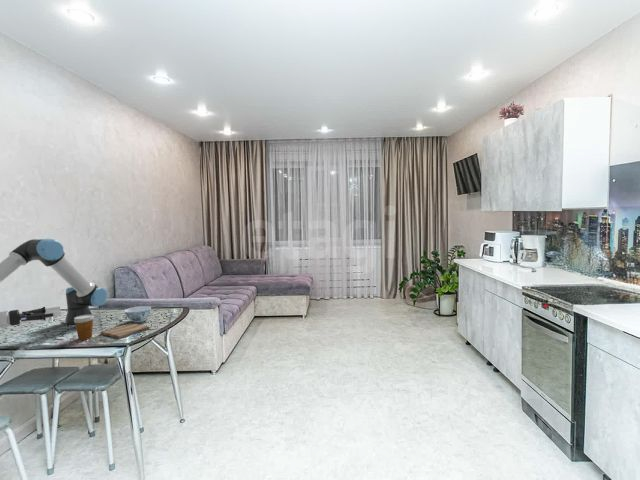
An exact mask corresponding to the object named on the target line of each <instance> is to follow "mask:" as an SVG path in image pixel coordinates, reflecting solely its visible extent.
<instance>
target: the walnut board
mask: <svg viewBox="0 0 640 480" xmlns="http://www.w3.org/2000/svg"><path fill="white" fill-rule="evenodd" d="M149 330H150V326H147V325H142V324H138V323H134V322H130V323H127V324H123V325H119V326H115V327H112V328H109V329H106V330H102V331H100V334H101V335H103V336H107V337H112V338H114V339H119V338H120V339H123V338H127V337H129V336H132V335H135V334H138V333H141V332H146V331H149ZM122 337H123V338H122Z"/></svg>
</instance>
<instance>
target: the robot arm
mask: <svg viewBox="0 0 640 480" xmlns="http://www.w3.org/2000/svg"><path fill="white" fill-rule="evenodd" d="M65 256H66V253H65V251H64V246H63V244H62V243H61V242H60V241H59V240H56V239H52V238H43V239H42V238H41V239H40V238H39V239H34V238H33V239H30V240H27V241H25V242H23V243H21V244H20V245H19V246H17V247H15V248H14V249H13V250H12V251H10V252H9V254H8V256H7V257H6V258H5V259H3V260H2V261H0V283H2V282H3V281H4V280H5V279H6V278H8V277H9V276H10V275H11V274H13V273H14V272H15V271H17V270H18V269H19V268H20V267H21V266H26V265H27V264H28V263H30V262H33V261H39V262H41V263H42V264H43V265H44V266H45V267H46V268H47V267H50V268H51V269H52V270H54V271H55V272H56V274H57V275H59V276H60V277H61V279H63V280H64V281H65V282H66V283H67V284H68V285H69V286H70V287H67V288H66V289H65V298H66V309H67V313H66V317H65V320H64V321H65V322H64V323H65V324H66V325H75V322H74V318H75V317H77V316H82V315H93V313H92V311H91V309H90V307H100V306H102V305H104V304H105V302H106V301H107V298H108V291H107V289H105V288H104V287H101V286H100V287H99V286H98V285H97V284H96V283H95V282H94V281H90V280H88V279H87V277H86V276H85V275H83V274H82V273H81V272H80V271H79V270H78V269H77V268H76V266H74V265H73V264H72V263H71V262H70V261H69V259H67V257H65ZM61 316H62V310H61V306H60V305H58V306H51V307H45V306H43V307H40V308H37V309H36V308H35V309H32V310H31V309H30V310H26V311H22V312H21V313H20V310H19V309H13V310H9V311H8V310H5V311H4V310H3V311H0V328H1V329H4V328H6V327H9V326H11V327H13V326H18V325H20V324H21V323H22V322H28V321H29V322H30V321H46V320H47V319H51V318H57V317H61Z"/></svg>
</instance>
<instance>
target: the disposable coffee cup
mask: <svg viewBox="0 0 640 480" xmlns="http://www.w3.org/2000/svg"><path fill="white" fill-rule="evenodd" d="M94 319H95V317H94V315H93V314H92V315H82V316H77V317H75V318H74V322H75V324H74V326H75V329H76V334H77V338H78V340H80V341H85V340H89V339H91V338H93V327H94Z"/></svg>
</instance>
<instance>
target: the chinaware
mask: <svg viewBox="0 0 640 480" xmlns="http://www.w3.org/2000/svg"><path fill="white" fill-rule="evenodd" d="M151 311H152V307H151V306H148V305H141V306H140V305H139V306H134V307H129V308H126V309H124V314H125V316H126V317H127V318H128V319H129V320H130V321H132V323H133V324H138V323H142V322H145V321H146V319H147V318H148V316H149V315H150V313H151Z"/></svg>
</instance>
